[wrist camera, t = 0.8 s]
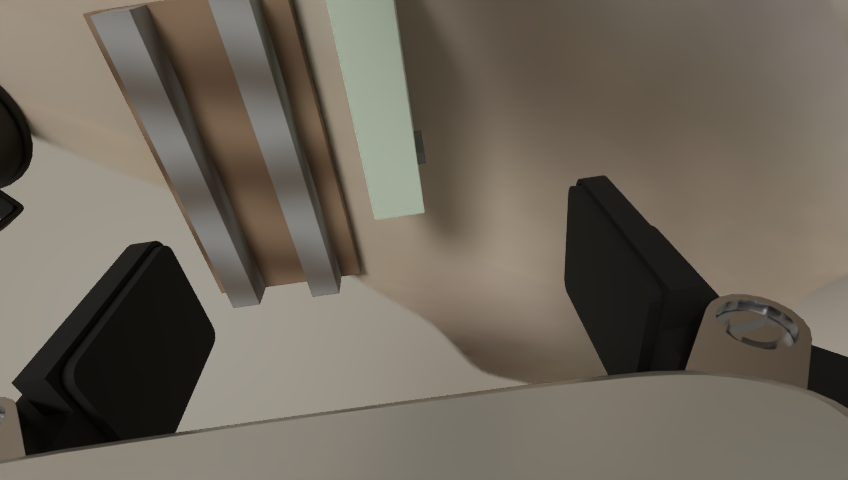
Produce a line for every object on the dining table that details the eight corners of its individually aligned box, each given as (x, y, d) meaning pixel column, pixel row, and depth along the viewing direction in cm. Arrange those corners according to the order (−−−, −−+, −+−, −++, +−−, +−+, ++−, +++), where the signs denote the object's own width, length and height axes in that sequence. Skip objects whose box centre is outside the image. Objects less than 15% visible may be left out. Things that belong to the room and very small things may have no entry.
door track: (92, 11, 26) (60, 20, 23) (287, -19, 25) (276, -13, 23) (225, 285, 37) (213, 310, 34) (361, 265, 37) (359, 290, 34)
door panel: (337, -71, 24) (310, -71, 16) (391, -80, 24) (392, -84, 16) (378, 142, 31) (374, 219, 23) (421, 135, 31) (432, 211, 23)
